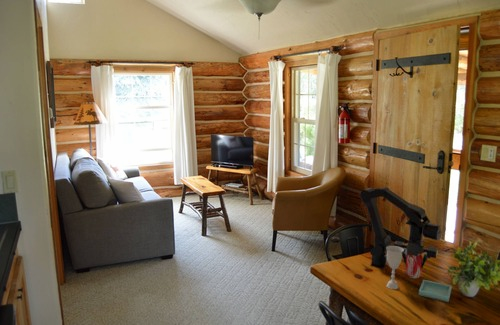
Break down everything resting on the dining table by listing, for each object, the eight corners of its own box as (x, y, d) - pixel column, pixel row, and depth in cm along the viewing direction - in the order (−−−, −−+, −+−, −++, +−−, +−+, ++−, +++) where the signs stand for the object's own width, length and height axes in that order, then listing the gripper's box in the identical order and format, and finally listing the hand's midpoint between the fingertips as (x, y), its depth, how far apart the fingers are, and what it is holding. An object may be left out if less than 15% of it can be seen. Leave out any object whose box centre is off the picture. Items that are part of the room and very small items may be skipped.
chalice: (401, 284, 180) (403, 246, 176) (401, 291, 174) (403, 252, 170) (384, 281, 182) (386, 244, 179) (383, 288, 176) (385, 250, 172)
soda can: (422, 280, 183) (424, 255, 181) (406, 278, 184) (407, 254, 182) (419, 273, 190) (421, 249, 187) (403, 271, 191) (405, 248, 189)
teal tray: (418, 294, 170) (418, 290, 170) (422, 283, 180) (423, 279, 180) (448, 302, 164) (448, 297, 164) (451, 290, 174) (451, 285, 174)
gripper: (391, 236, 181) (389, 268, 184) (435, 244, 172) (433, 278, 175) (396, 229, 190) (394, 259, 193) (438, 236, 181) (436, 268, 184)
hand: (413, 266), depth 186 cm, fingers closed on soda can, 7 cm apart
